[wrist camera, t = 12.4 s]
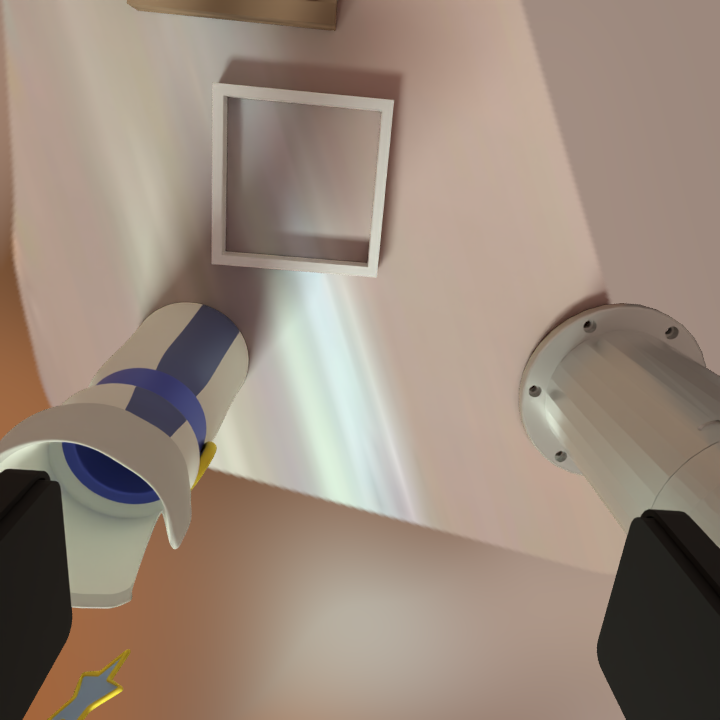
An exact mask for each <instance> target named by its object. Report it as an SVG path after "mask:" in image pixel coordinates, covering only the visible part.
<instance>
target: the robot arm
mask: <svg viewBox="0 0 720 720" xmlns="http://www.w3.org/2000/svg"><path fill="white" fill-rule="evenodd" d="M587 321H588V324H587V325H586V326H584V324H585V322H587ZM667 329H668V331H666V330H667ZM534 385H535V386H534ZM532 386H534V388H533V389H530V387H532ZM519 411H520V416H521V421H522V423H523V426H524V428H525V431H526V433H527V435H528V437H529V438H530V440H531V441H532V443H533V445H534V446H535V447H536V448H537V450H538V451H539V452H540V453H541V454H542V455H543V456H544V457H545V458H546V459H547V460H549V461H550V462H551V463H552V464H554V465H555V466H557V467H559V468H562V469H564V470H566V471H568V472H570V473H574V474H578V475H582V476H584V477H585V478H586V479H587V481H588V482H589V484H590V485H591V486H592V488H593V489H594V490H595V492H596V493H597V495H598V496H599V497H600V499H601V500H602V501H603V503H604V504H605V506H606V507H607V508H608V510H609V511H610V513H611V514H612V515H613V517H614V518H615V519H616V521H617V522H618V524H619V525H620V526H621V528H622V529H623V531H624V532H625V533H626V535H627V538H626V542H625V546H624V549H623V553H622V556H621V560H620V564H619V567H618V571H617V574H616V578H615V582H614V585H613V589H612V592H611V596H610V599H609V603H608V607H607V610H606V614H605V617H604V621H603V625H602V628H601V632H600V635H599V639H598V643H597V656H598V661H599V664H600V667H601V669H602V671H603V673H604V675H605V677H606V680H607V682H608V684H609V686H610V688H611V690H612V692H613V694H614V696H615V698H616V700H617V702H618V704H619V706H620V708H621V710H622V712H623V714H624V716H625V718H626V720H720V376H718V375H717V374H715V373H714V372H712V371H711V370H709V369H707V368H706V365H705V362H704V358H703V354H702V351H701V349H700V347H699V346H698V344H697V342H696V340H695V338H694V337H693V336H692V335H691V334H690V333H689V331H688V330H687V329H686V328H685V327H684V326H683V325H681V324H680V323H679V322H677V321H676V320H674V319H673V318H671V317H670V316H668V315H666V314H664V313H662V312H660V311H658V310H656V309H653V308H649V307H646V306H642V305H636V304H624V303H620V304H610V305H602V306H599V307H596V308H592V309H589V310H585V311H583V312H581V313H579V314H577V315H575V316H573V317H571V318H569V319H567V320H566V321H565V322H563V323H562V324H560V325H559V326H558V327H556V328H555V329H554V330H552V331H551V333H550V334H549V335H548V336H547V337H546V338H545V339H544V340H543V341H542V342H541V343H540V344H539V345H538V347H537V348H536V350H535V351H534V353H533V354H532V356H531V357H530V359H529V361H528V363H527V366H526V368H525V370H524V372H523V375H522V379H521V384H520V388H519ZM557 452H558V453H557ZM71 624H72V607H71V595H70V584H69V573H68V562H67V551H66V540H65V528H64V517H63V506H62V495H61V487H60V484H59V482H57V481H51V480H50V477H49V475H48V473H47V472H45V471H38V470H23V469H5V470H4V471H2V472H1V473H0V720H22V719H23V718H24V716H25V714H26V712H27V711H28V709H29V707H30V705H31V703H32V701H33V700H34V698H35V696H36V694H37V692H38V691H39V689H40V687H41V685H42V684H43V682H44V680H45V678H46V676H47V675H48V673H49V671H50V669H51V668H52V666H53V664H54V662H55V660H56V659H57V657H58V655H59V653H60V652H61V650H62V648H63V646H64V644H65V643H66V640H67V638H68V636H69V633H70V629H71Z"/></svg>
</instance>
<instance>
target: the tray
mask: <svg viewBox="0 0 720 720" xmlns="http://www.w3.org/2000/svg"><path fill="white" fill-rule="evenodd" d="M127 4H129V5H130V6H132V7H133V8H135V9H137V10H138V11H148V12H158V13H167V14H177V15H187V16H197V17H207V18H216V19H226V20H236V21H246V22H256V23H265V24H275V25H285V26H295V27H304V28H314V29H324V30H334V31H335V29H336V13H337V0H127Z"/></svg>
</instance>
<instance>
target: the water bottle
mask: <svg viewBox="0 0 720 720" xmlns="http://www.w3.org/2000/svg"><path fill="white" fill-rule="evenodd" d="M248 365H249V356H248V350H247V346H246V343H245V340H244V338H243V336H242V334H241V333H240V331H239V329H238V328H237V327H236V326H235V324H234V323H233V322H232V321H231V320H230V319H229V318H227V317H226V316H225V315H224V314H222V313H221V312H219V311H217V310H215V309H213V308H211V307H209V306H206V305H203V304H198V303H191V302H181V303H174V304H170V305H167V306H164V307H162V308H160V309H158V310H156V311H155V312H153V313H152V314H151V315H149V316H148V317H147V318H146V319H145V321H144V322H143V323H142V324H141V325H140V327H139V328H138V329H137V330H136V331H135V333H134V334H133V335H132V336H131V337H130V338H129V339H128V340H127V342H126V343H125V344H124V345H123V346H122V347H121V348H120V349H119V350H117V351H116V352H115V353H114V354H113V355H112V356H111V357H110V358H109V359H108V360H107V361H106V362H105V363H104V364H103V365H102V367H101V368H100V369H99V371H98V372H97V373H96V375H95V376H94V377H93V379H92V381H91V383H90V385H89V387H88V388H86V389H83V390H81V391H79V392H77V393H76V394H74V395H72V396H71V397H70V398H68V399H67V400H66V401H65V402H64V403H63V404H62V405H60V406H56V407H52V408H49V409H46V410H43V411H41V412H38V413H36V414H34V415H32V416H30V417H28V418H27V419H25V420H24V421H22V422H20V423H19V424H18V425H17V426H15V427H14V428H13V429H12V430H11V431H9V432H8V433H7V434H6V435H5V436H4V437H3V438H2V440H1V441H0V473H1V472H2V471H4V470H5V469H23V470H38V471H45V472H47V473H48V475H49V477H50V480H51V481H57V482H59V484H60V487H61V495H62V506H63V517H64V528H65V540H66V551H67V562H68V573H69V584H70V595H71V607H77V608H113V607H117V606H120V605H122V604H125V603H127V602H129V601H130V600H131V599H132V588H133V585H134V582H135V578H136V575H137V572H138V569H139V566H140V563H141V561H142V558H143V555H144V552H145V550H146V547H147V544H148V541H149V539H150V536H151V534H152V531H153V529H154V527H155V524H156V522H157V520H158V518H159V516H160V514H161V513H162V514H163V517H164V521H165V525H166V529H167V533H168V538H169V542H170V544H171V546H172V548H174V549H177V548H178V547H179V546H180V544H181V542H182V540H183V538H184V536H185V534H186V532H187V530H188V527H189V525H190V521H191V490H192V489H193V487H194V486H195V485H196V483H197V482H198V481H199V479H200V478H201V476H202V475H203V473H204V472H205V470H206V469H207V467H208V466H209V464H210V462H211V461H212V459H213V457H214V455H215V453H216V449H217V447H216V445H215V444H214V443H213V442H212V441H213V440H214V438H215V436H216V434H217V432H218V430H219V428H220V426H221V424H222V422H223V420H224V418H225V416H226V413H227V411H228V409H229V407H230V406H231V404H232V402H233V400H234V398H235V397H236V395H237V393H238V392H239V390H240V388H241V387H242V385H243V383H244V381H245V378H246V375H247V372H248ZM129 654H130V650H129V649H128V650H126V651H124V652H123V653H122V654H120V655H119V656H118V657H117V658H116V659H114V660H113V661H112V662H110V663H109V664H108V665H107V666H105V667H104V668H103V669H102V670H101V671H90V672H84V673H82V675H81V677H80V679H79V681H78V683H77V686H76V689H75V691H74V694H73V696H72V698H71V699H70V700H69V701H67V702H66V703H65V704H64V705H63V706H62V707H61V708H60V709H59V710H57V711H56V712H55V713H54V714H53V715H52V716H51V717H50V718H48V719H47V720H84V719H85V717H86V716H87V715H88V713H90V711H92V710H93V709H94V708H96V707H98V706H99V705H101V704H102V703H104V702H106V701H107V700H109V699H110V698H112V697H114V696H115V695H117V694H119V693H120V692H122V691H123V687H122V686H120V685H119V684H118V683H116V682H115V681H113V678H114V676H115V675H116V673H117V672H118V671H119V669H120V668H121V666H122V665H123V663H124V662H125V660H126V659H127V657H128V656H129Z"/></svg>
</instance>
